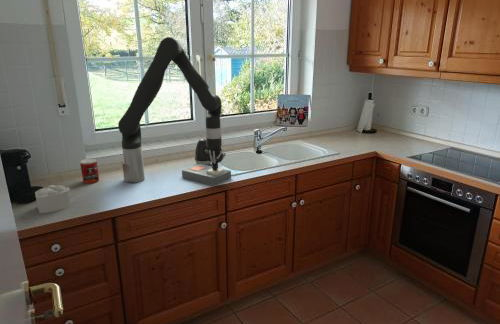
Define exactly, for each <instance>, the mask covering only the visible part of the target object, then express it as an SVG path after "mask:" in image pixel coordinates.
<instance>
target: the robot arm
mask: <svg viewBox="0 0 500 324" xmlns="http://www.w3.org/2000/svg"><path fill="white" fill-rule="evenodd" d="M171 62H172V63H174V65H176V66H177V67H178V69H179V70H180V71H181V73H182V75H183V77H184V78H185V79H184V80H186V82H187V84H188V85H189V86H190V88H191V89H192V90H193V91H194V93H195V94H196V96H197V99H198V100H199V103H200V104H201V106H202V107H203V108H204V110H205V111H207V115H206V117H205V140H206V145H207V150H206V151H204V154H205V156H206V157H207V159H208V161H210V162H211V163H210V164H211V166H212V169H213V170H215V171H216V170H217V169H218V168H219V163H222V161H223V160H224V158H225V157H226V153H225V152H223V150H222V145H223V144H222V139H223V138H222V129H221V128H222V127H221V114H222V106H223V105H222V99H221V97H220V96H219V95H217V94H211V92H210V90H209V88H210V85H208V83H207V82H206V81H205V79H204V77H202V75H201V74H200V73H199V71H198V70H197V69H196V68H195V66H194V65H193V63H192V62H191V60H190V58H189V57H188V55H187V54H186V52H185V49H184V48H183V46H182V44H181V42H180V41H178V40H177V39H175V38H174V37H171V36H170V37H169V36H167V37H164V38H163V39H162V40H161V41H160V42H159V45H158V47H157V49H156V51H155V54H154V57H153V58H152V61H151V63H150V65H149V66H148V68H147V70H146V72H145V74H144V76H143V77H142V79H141V81H140V83H139V84H138V86H137V89H136V90H135V92H134V94H133V97H132V99H131V102H130V104H129V107H128V108H127V110H126V111H125V113H124V114H123V115H122V117H121V118H120V120H119V121H118V124H117V127H118V131H119V132H120V134H121V135H122V136H121V137H122V138H121V139H122V140H121V150H122V159H123V162H122V163H121V165H122V172H123V173H122V174H123V179H124V181H125V182H127V183H131V184H133V183H137V182H138V183H139V182H142V181H144V180H145V179H146V177H145V170H144V169H145V167H144V159H143V158H144V157H143V150H142V129H141V120H142V119H143V116H144V114H145V112H146V111H147V110H148V109H149V108H150V106H151V104H152V103H153V101H154V100H155V99H156V97H157V95H158V93H159V92H160V89H161V88H162V86H163V82H164V77H165V74H166V71H167V68H168V67H169V65H170V64H171ZM209 157H210V158H209Z"/></svg>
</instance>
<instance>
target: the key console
mask: <svg viewBox="0 0 500 324" xmlns="http://www.w3.org/2000/svg"><path fill="white" fill-rule="evenodd" d="M195 166H200V167H205V169H203V170H200V171H194V170H190V168H193V167H195ZM218 168H219V169H223V171H224V172H223V173H221V174H219V175H216V176H215V175H211V174H207V170H209V169H212V165H203V164H197V163H196V164H194V165H192V166H189V167H187V168H186V167H185V168H183V169H181V177H182V178H183V179H186V180H187V179H188V180H192V181H196V182H199V183H204V184H205V185H210V186H218V185H219V184H222V183H224V182H226V181H228V180H230V179H232V170H229V169H225V168H220V167H218Z"/></svg>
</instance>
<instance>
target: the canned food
mask: <svg viewBox="0 0 500 324" xmlns="http://www.w3.org/2000/svg"><path fill="white" fill-rule="evenodd" d="M79 164H80V171H81V177H82V181H83V184H87V185H90V184H94V183H98V182H99V181H100V174H99V169H98V161H97V159H96V158H85V159H82V160H80V162H79Z"/></svg>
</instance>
